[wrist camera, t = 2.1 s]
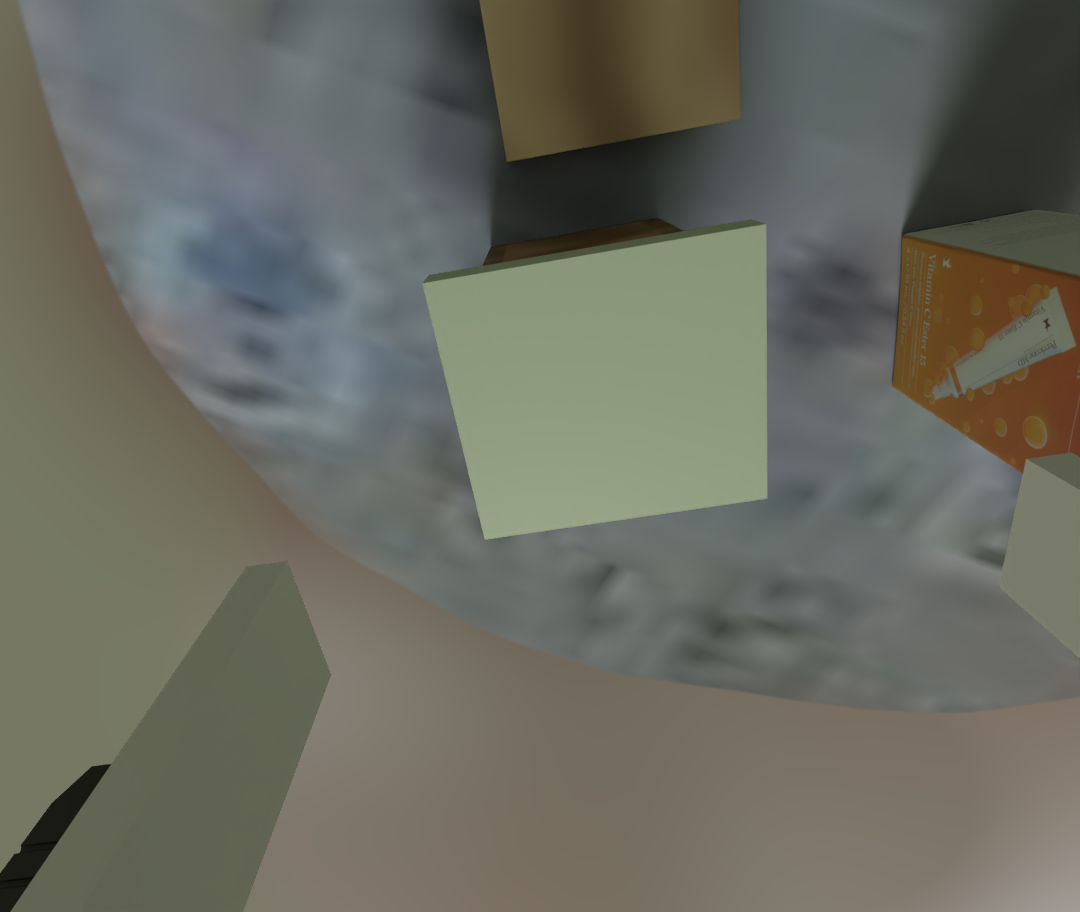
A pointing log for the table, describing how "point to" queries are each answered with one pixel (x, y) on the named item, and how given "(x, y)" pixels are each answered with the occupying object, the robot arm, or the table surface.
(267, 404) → the table surface
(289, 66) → the table surface
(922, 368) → the small box
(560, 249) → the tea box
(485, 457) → the lid
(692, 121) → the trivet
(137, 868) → the robot arm
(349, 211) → the table surface
